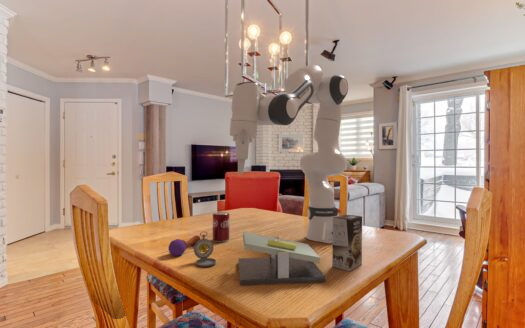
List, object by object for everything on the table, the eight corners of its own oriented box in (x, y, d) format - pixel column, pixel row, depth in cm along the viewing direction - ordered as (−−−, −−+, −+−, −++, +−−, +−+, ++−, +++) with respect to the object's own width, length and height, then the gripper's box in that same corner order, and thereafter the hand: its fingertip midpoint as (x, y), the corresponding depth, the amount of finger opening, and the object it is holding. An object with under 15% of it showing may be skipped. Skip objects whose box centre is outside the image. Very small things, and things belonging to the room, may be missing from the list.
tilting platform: (306, 248, 96) (308, 238, 96) (319, 263, 82) (321, 250, 82) (242, 236, 93) (244, 226, 93) (244, 249, 79) (247, 236, 79)
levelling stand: (308, 260, 98) (308, 235, 98) (325, 282, 80) (325, 251, 80) (238, 262, 95) (238, 237, 95) (240, 285, 77) (240, 254, 77)
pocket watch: (206, 269, 89) (206, 237, 89) (187, 264, 94) (187, 234, 94) (223, 261, 96) (223, 232, 96) (204, 257, 101) (205, 229, 101)
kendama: (204, 234, 119) (182, 243, 100) (201, 248, 119) (178, 259, 99) (191, 230, 121) (167, 238, 101) (188, 244, 120) (163, 255, 101)
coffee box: (350, 272, 87) (350, 219, 87) (331, 266, 92) (331, 217, 92) (362, 264, 94) (363, 215, 94) (344, 260, 98) (345, 213, 99)
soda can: (231, 238, 126) (231, 211, 127) (227, 243, 119) (227, 214, 119) (215, 238, 127) (215, 211, 127) (210, 242, 120) (210, 214, 120)
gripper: (254, 128, 83) (251, 176, 83) (251, 134, 103) (248, 172, 103) (233, 127, 82) (229, 174, 83) (234, 133, 103) (231, 171, 103)
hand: (240, 173), depth 93 cm, fingers open, 8 cm apart
